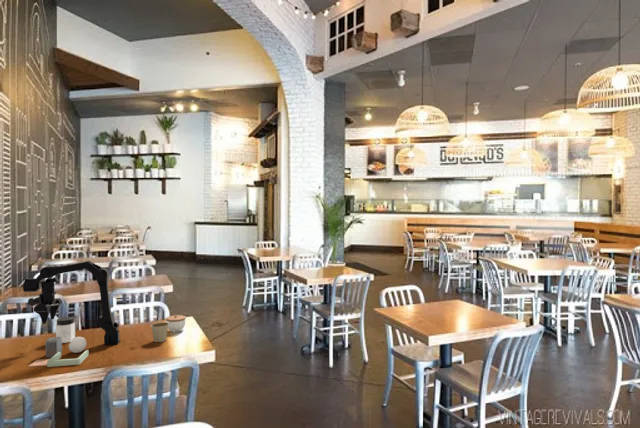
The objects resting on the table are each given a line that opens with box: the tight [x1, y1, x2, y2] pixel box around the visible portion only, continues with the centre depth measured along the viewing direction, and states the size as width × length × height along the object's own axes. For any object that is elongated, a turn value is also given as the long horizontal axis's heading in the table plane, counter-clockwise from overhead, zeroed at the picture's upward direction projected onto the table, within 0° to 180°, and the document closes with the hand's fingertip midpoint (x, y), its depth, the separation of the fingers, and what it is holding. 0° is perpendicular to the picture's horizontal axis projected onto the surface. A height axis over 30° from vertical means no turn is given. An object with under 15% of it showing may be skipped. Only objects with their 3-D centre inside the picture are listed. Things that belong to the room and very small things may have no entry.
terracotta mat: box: [28, 358, 50, 368], centre depth 204 cm, size 8×8×1 cm
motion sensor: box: [67, 336, 87, 354], centre depth 219 cm, size 8×8×8 cm
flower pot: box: [150, 322, 169, 343], centre depth 237 cm, size 9×9×9 cm
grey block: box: [44, 336, 63, 359], centre depth 215 cm, size 5×6×8 cm
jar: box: [55, 316, 76, 344], centre depth 238 cm, size 9×8×12 cm
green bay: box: [47, 349, 90, 368], centre depth 207 cm, size 13×13×2 cm
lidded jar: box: [165, 314, 186, 333], centre depth 256 cm, size 11×11×9 cm
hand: (48, 321), depth 224 cm, fingers open, 9 cm apart
